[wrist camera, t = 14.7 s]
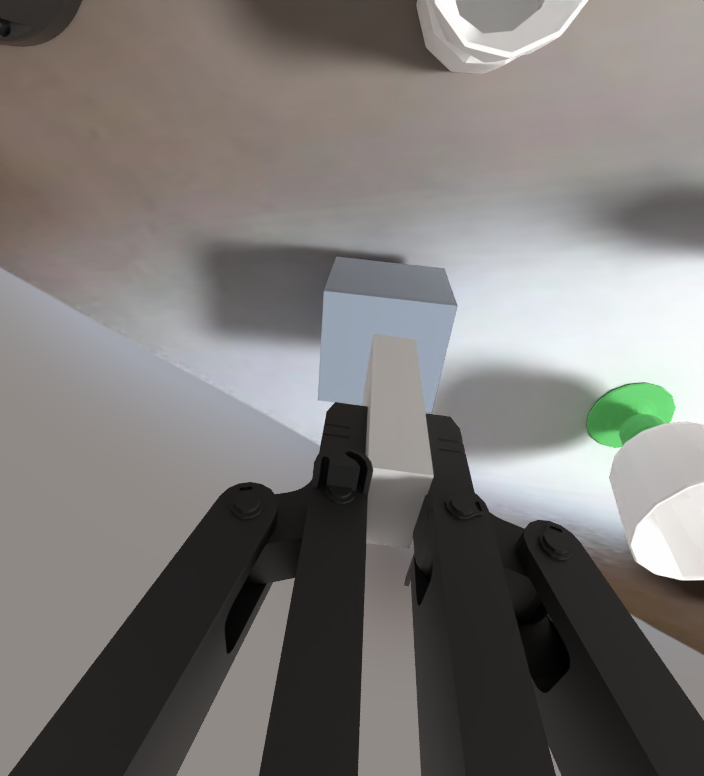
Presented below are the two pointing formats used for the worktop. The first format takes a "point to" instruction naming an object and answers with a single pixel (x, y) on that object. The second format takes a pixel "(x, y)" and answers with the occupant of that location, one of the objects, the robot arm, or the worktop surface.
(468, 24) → the vase
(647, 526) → the cup
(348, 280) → the pale blue block
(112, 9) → the worktop surface
